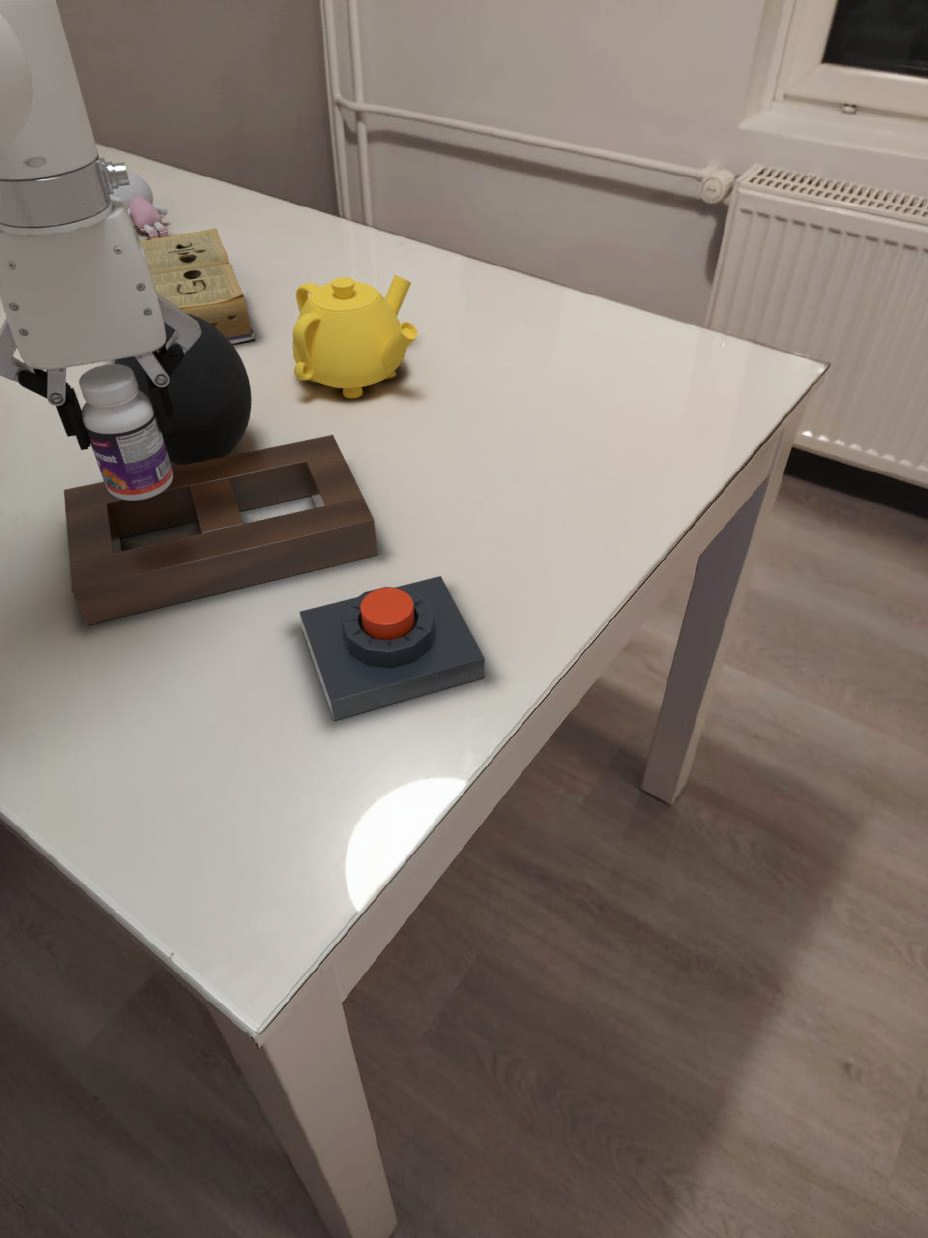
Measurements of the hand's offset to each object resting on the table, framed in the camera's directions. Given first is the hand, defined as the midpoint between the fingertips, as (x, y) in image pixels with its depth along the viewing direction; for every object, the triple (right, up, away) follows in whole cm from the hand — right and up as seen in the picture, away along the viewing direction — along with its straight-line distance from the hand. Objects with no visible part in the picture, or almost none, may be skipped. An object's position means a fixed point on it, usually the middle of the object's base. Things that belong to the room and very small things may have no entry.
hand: (124, 430), depth 69 cm
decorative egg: (0, +1, +20) cm, 20 cm away
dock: (+5, -8, +10) cm, 14 cm away
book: (-10, +25, +44) cm, 51 cm away
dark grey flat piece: (+21, -18, 0) cm, 28 cm away
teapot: (+15, +13, +31) cm, 37 cm away
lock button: (+21, -15, -2) cm, 26 cm away
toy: (-22, +45, +64) cm, 81 cm away
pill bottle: (0, -4, +3) cm, 5 cm away
